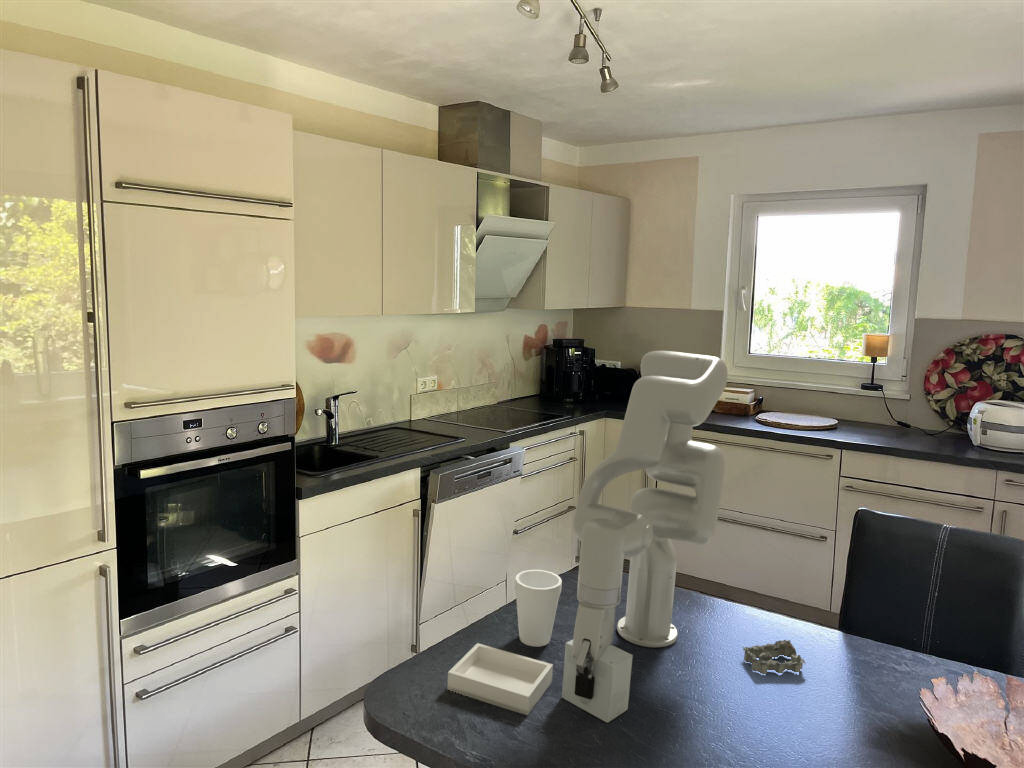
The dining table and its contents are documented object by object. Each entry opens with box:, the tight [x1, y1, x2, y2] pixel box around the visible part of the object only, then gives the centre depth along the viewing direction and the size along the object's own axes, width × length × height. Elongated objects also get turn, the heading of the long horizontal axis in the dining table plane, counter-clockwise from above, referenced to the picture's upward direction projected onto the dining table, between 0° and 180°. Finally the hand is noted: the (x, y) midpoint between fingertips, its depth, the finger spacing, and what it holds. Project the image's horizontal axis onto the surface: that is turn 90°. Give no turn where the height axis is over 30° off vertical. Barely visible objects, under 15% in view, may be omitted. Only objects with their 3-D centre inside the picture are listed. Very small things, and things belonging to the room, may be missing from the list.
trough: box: [447, 642, 554, 716], centre depth 134 cm, size 12×16×4 cm
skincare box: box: [560, 639, 634, 724], centre depth 130 cm, size 10×6×10 cm, turn 47°
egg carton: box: [742, 639, 806, 674], centre depth 146 cm, size 11×8×4 cm
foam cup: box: [514, 569, 563, 648], centre depth 151 cm, size 10×9×13 cm
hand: (591, 684), depth 131 cm, fingers closed on skincare box, 7 cm apart
